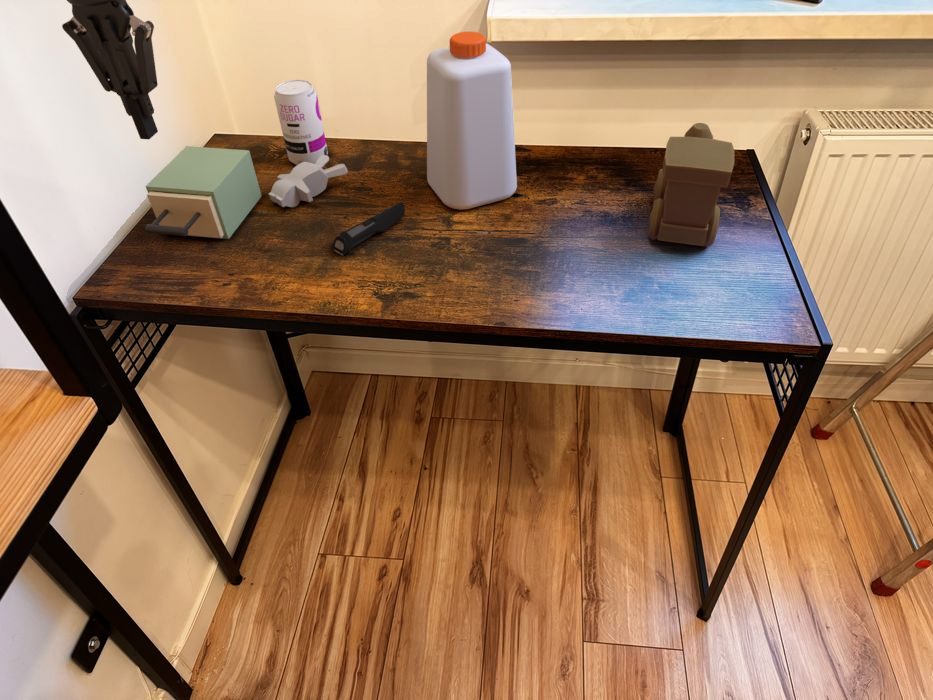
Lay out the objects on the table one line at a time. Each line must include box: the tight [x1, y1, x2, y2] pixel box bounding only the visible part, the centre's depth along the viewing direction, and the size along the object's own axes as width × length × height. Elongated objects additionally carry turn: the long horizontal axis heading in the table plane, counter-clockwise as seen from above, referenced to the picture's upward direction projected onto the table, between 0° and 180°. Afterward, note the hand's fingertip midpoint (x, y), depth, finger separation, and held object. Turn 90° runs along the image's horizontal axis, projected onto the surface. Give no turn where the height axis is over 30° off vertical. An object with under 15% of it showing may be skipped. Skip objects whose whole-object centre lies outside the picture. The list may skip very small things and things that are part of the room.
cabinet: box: [145, 145, 263, 240], centre depth 122 cm, size 15×13×10 cm
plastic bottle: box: [426, 31, 518, 210], centre depth 120 cm, size 15×15×28 cm
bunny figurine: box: [268, 154, 349, 208], centre depth 128 cm, size 10×5×15 cm
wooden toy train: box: [647, 122, 735, 248], centre depth 113 cm, size 20×11×17 cm, turn 164°
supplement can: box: [273, 79, 329, 166], centre depth 135 cm, size 8×8×15 cm
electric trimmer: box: [332, 201, 406, 256], centre depth 118 cm, size 4×16×3 cm, turn 137°
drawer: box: [144, 191, 224, 239], centre depth 118 cm, size 20×11×8 cm, turn 169°
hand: (149, 135), depth 104 cm, fingers closed
